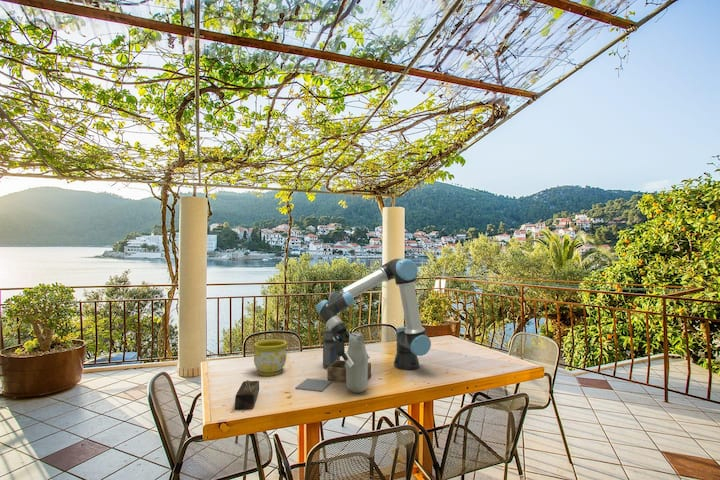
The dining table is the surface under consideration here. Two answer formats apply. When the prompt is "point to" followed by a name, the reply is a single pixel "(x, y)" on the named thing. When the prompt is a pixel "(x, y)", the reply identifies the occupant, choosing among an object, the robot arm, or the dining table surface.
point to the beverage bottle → (328, 349)
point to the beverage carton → (247, 395)
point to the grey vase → (357, 363)
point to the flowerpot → (270, 356)
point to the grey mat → (314, 385)
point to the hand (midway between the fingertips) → (360, 362)
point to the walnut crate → (340, 371)
